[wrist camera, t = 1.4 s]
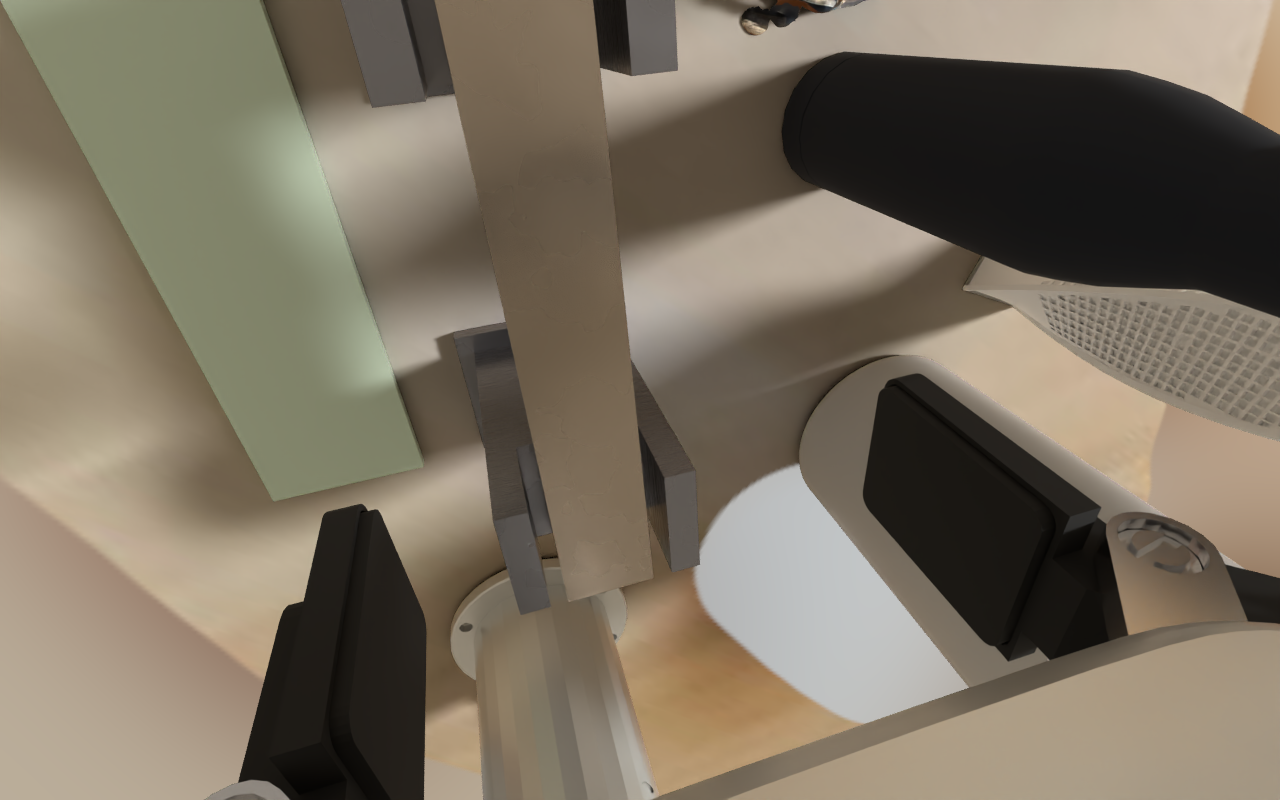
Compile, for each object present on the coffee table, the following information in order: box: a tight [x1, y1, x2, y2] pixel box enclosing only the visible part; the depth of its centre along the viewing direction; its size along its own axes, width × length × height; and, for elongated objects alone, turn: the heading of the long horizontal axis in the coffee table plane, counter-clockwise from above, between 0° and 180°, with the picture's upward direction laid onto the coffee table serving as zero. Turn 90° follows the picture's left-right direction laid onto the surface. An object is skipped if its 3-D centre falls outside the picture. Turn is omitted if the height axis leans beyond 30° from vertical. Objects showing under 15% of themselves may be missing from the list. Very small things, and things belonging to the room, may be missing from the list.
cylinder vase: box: [799, 355, 1244, 688], centre depth 34 cm, size 12×12×25 cm
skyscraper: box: [962, 256, 1280, 441], centre depth 29 cm, size 8×8×28 cm
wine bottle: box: [782, 52, 1280, 318], centre depth 19 cm, size 6×6×30 cm
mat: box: [0, 0, 424, 502], centre depth 27 cm, size 26×8×1 cm, turn 4°
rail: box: [434, 0, 654, 602], centre depth 20 cm, size 24×4×4 cm, turn 4°
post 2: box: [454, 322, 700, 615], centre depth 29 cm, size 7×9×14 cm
